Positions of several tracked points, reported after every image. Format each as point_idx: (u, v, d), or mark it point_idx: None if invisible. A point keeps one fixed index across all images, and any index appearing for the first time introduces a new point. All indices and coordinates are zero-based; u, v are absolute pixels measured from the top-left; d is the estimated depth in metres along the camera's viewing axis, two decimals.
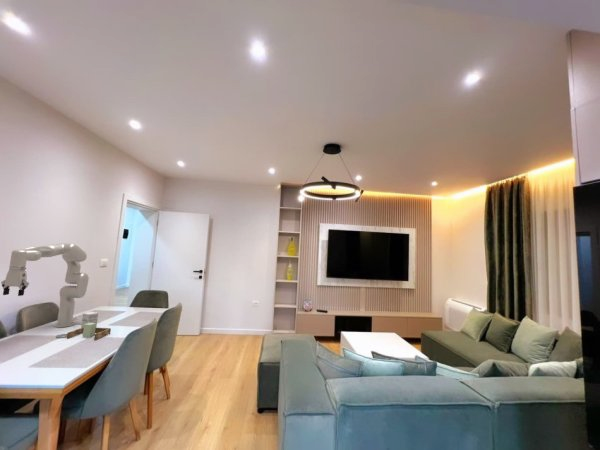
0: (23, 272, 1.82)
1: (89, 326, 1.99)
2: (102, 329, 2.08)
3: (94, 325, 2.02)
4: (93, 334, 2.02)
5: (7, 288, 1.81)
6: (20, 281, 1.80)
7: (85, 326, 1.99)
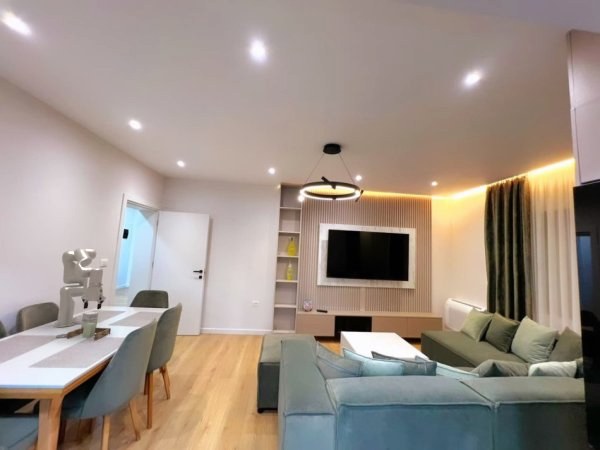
0: (100, 288, 2.04)
1: (89, 326, 1.99)
2: (102, 329, 2.08)
3: (94, 325, 2.02)
4: (93, 334, 2.02)
5: (86, 302, 2.03)
6: (98, 296, 2.02)
7: (85, 326, 1.99)
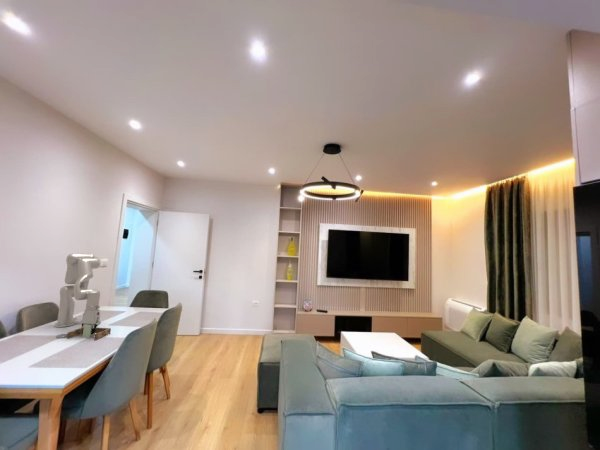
0: (97, 311, 2.02)
1: (89, 326, 1.99)
2: (102, 329, 2.08)
3: (94, 325, 2.02)
4: (93, 334, 2.02)
5: None
6: (95, 319, 2.00)
7: (85, 326, 1.99)
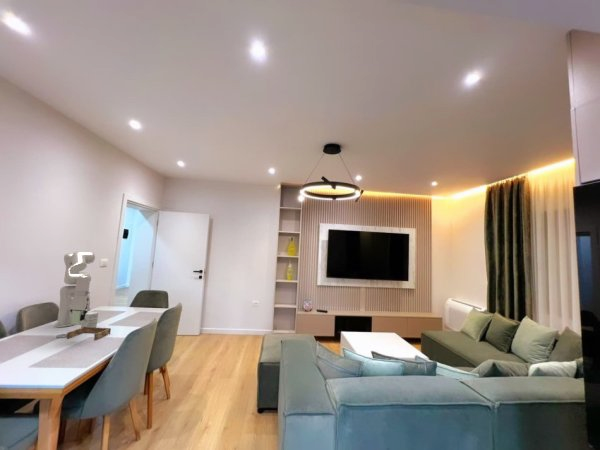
0: (87, 296, 1.92)
1: (78, 312, 1.88)
2: (102, 329, 2.08)
3: None
4: (82, 321, 1.92)
5: None
6: (85, 305, 1.90)
7: (74, 312, 1.88)
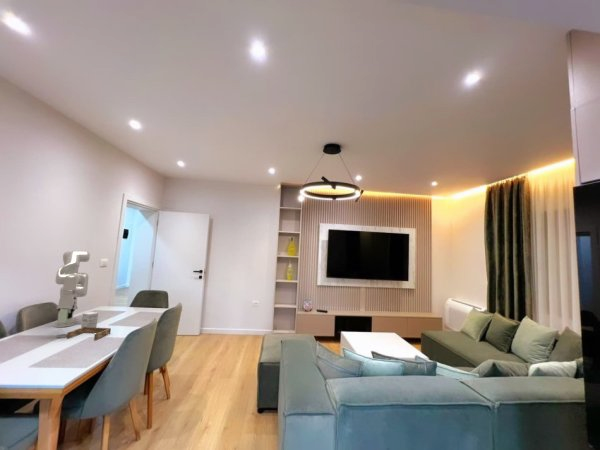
0: (74, 295, 2.00)
1: (65, 311, 1.96)
2: (102, 329, 2.08)
3: None
4: (70, 319, 1.99)
5: None
6: (72, 304, 1.98)
7: (61, 311, 1.96)
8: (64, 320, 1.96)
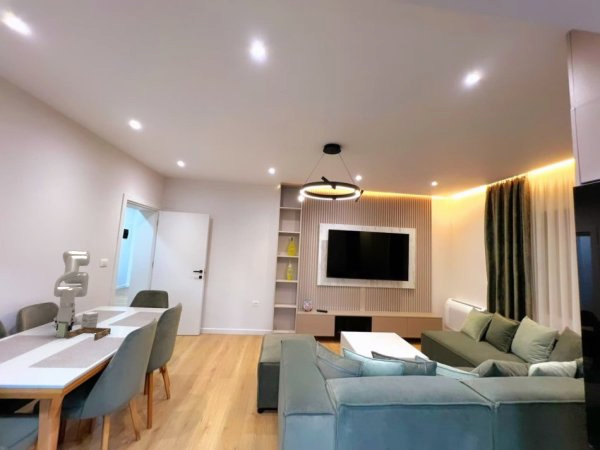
0: (73, 308, 1.99)
1: (63, 325, 1.96)
2: (102, 329, 2.08)
3: None
4: None
5: None
6: (70, 317, 1.97)
7: (59, 325, 1.96)
8: (62, 334, 1.95)
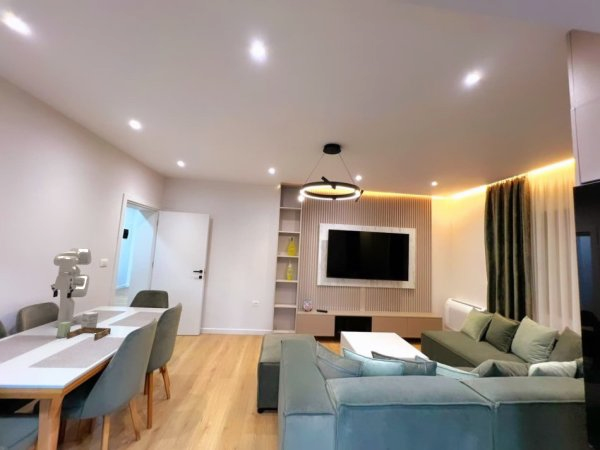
0: (70, 277, 2.03)
1: (63, 325, 1.96)
2: (102, 329, 2.08)
3: (69, 324, 1.99)
4: None
5: (56, 291, 2.02)
6: (68, 285, 2.01)
7: (59, 325, 1.96)
8: (62, 334, 1.95)
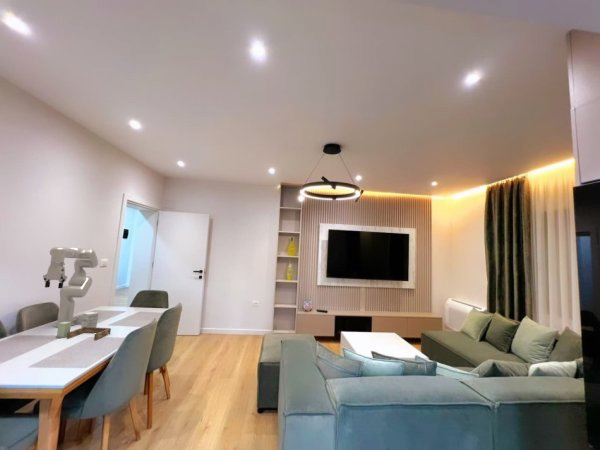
0: (62, 267, 2.05)
1: (63, 325, 1.96)
2: (102, 329, 2.08)
3: (69, 324, 1.99)
4: None
5: (48, 281, 2.04)
6: (60, 275, 2.03)
7: (59, 325, 1.96)
8: (62, 334, 1.95)
